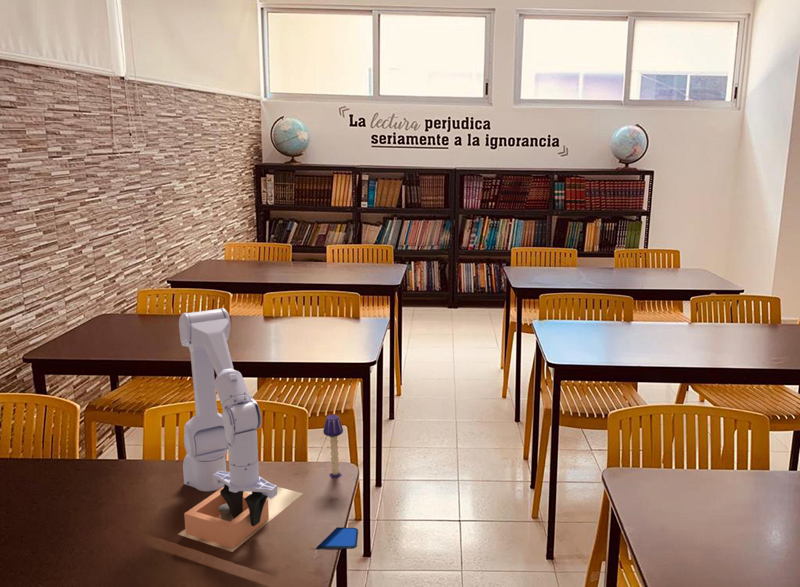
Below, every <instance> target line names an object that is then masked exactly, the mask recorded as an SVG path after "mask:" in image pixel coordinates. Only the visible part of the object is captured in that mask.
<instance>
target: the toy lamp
mask: <svg viewBox="0 0 800 587" xmlns="http://www.w3.org/2000/svg"><path fill="white" fill-rule="evenodd" d="M323 425H324V427H323V430H322V431H323V432H322V433H323V435H325V436H327V437H329V438H330V440H329V443H330V462H331V464H330V466H331V473H329V476H328V477H329V478H332V479H339V478H340V477H342V475H343V474H342V472H340V471H339V467H340V466H339V457H338V456H339V450H338V449H339V446H338V441H339V440H338V436H341V435H342V434H343V433H344V429H343V426H342V425H343V424H342V423H341V419H340V417H339V415H337V414H330V415H327V416H326V418H325V422H324V424H323Z"/></svg>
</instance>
